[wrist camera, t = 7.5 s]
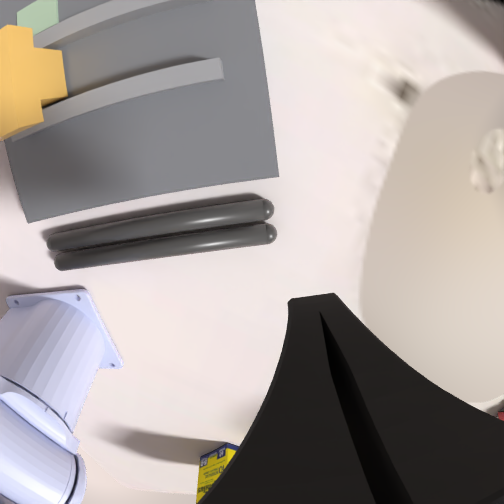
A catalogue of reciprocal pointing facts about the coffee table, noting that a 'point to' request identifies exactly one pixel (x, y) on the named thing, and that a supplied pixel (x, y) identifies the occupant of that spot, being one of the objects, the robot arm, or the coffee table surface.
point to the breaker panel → (146, 123)
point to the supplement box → (213, 467)
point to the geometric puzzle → (501, 415)
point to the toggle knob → (26, 80)
